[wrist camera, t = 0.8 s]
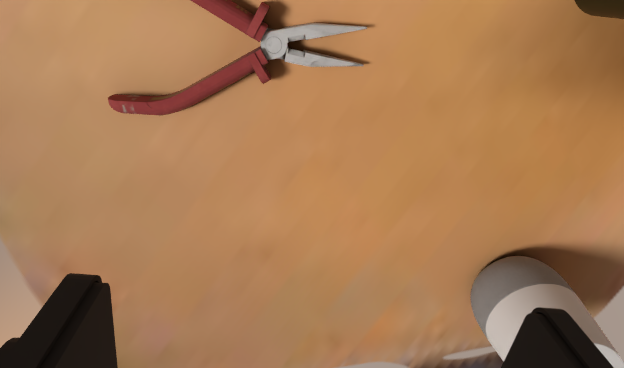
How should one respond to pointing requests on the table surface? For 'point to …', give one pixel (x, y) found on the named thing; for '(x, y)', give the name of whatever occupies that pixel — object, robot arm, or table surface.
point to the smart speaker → (528, 302)
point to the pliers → (270, 48)
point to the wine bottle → (602, 8)
